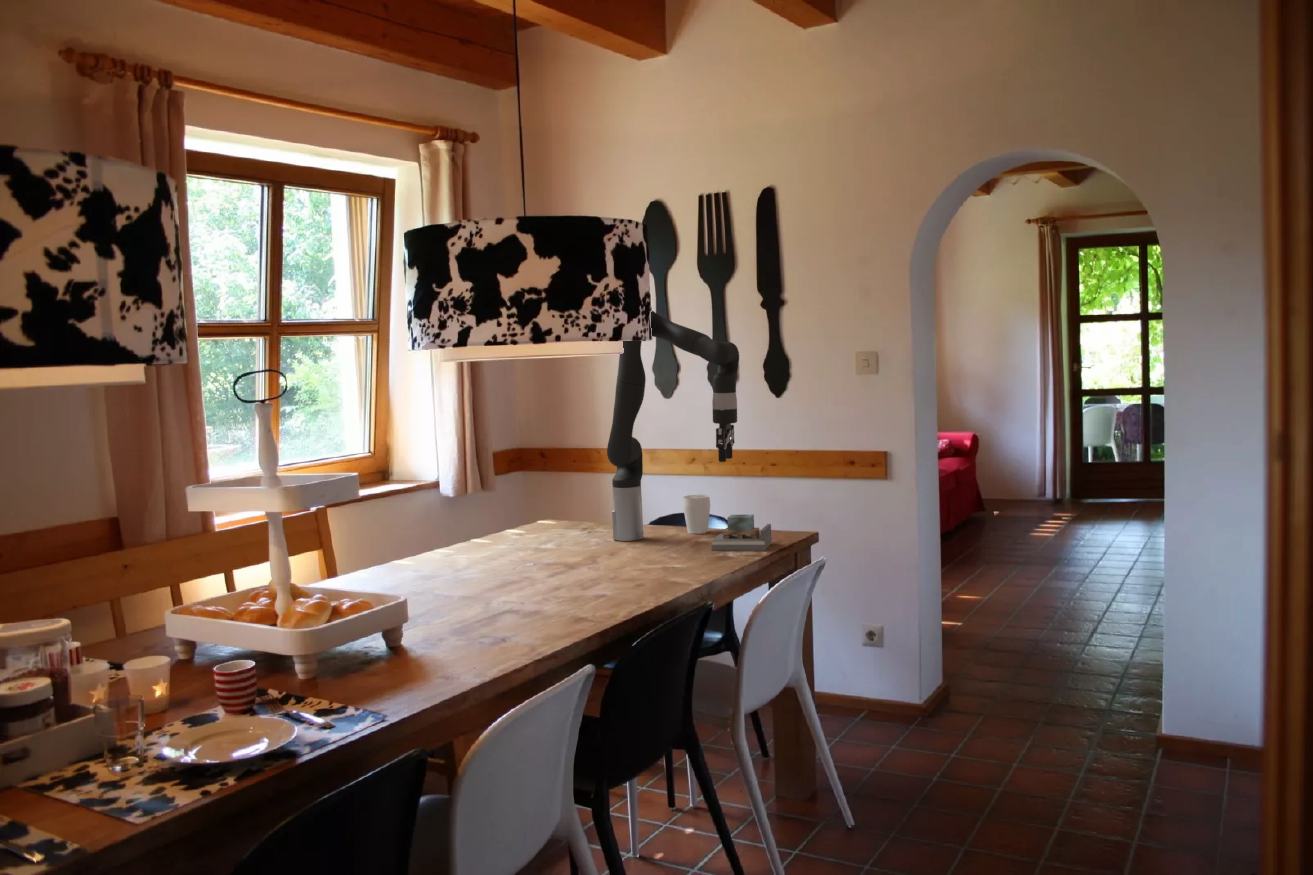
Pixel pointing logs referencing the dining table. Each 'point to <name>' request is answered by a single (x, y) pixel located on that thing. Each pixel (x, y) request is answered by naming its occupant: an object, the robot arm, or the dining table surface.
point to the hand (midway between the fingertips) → (725, 460)
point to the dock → (743, 542)
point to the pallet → (740, 533)
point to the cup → (696, 513)
